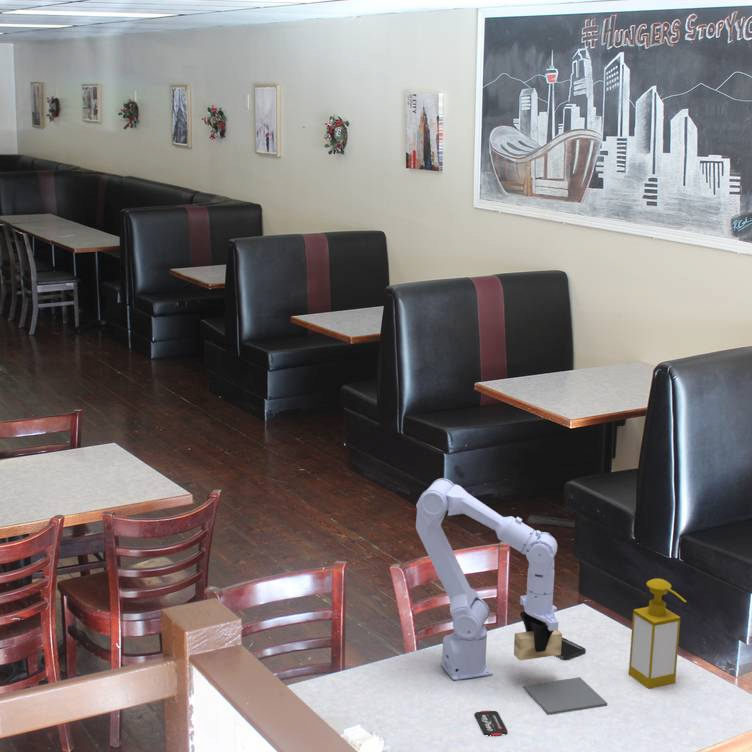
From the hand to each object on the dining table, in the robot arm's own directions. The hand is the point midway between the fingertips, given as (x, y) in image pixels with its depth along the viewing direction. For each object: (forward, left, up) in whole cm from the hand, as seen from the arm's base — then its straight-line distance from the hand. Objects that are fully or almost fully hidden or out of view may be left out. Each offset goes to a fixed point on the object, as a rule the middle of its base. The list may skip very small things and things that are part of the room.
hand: (536, 647), depth 241 cm
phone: (+12, +15, -9) cm, 21 cm away
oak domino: (0, 0, -2) cm, 2 cm away
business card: (-17, -14, -9) cm, 24 cm away
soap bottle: (+26, -9, -8) cm, 29 cm away
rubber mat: (+3, -8, -8) cm, 12 cm away
